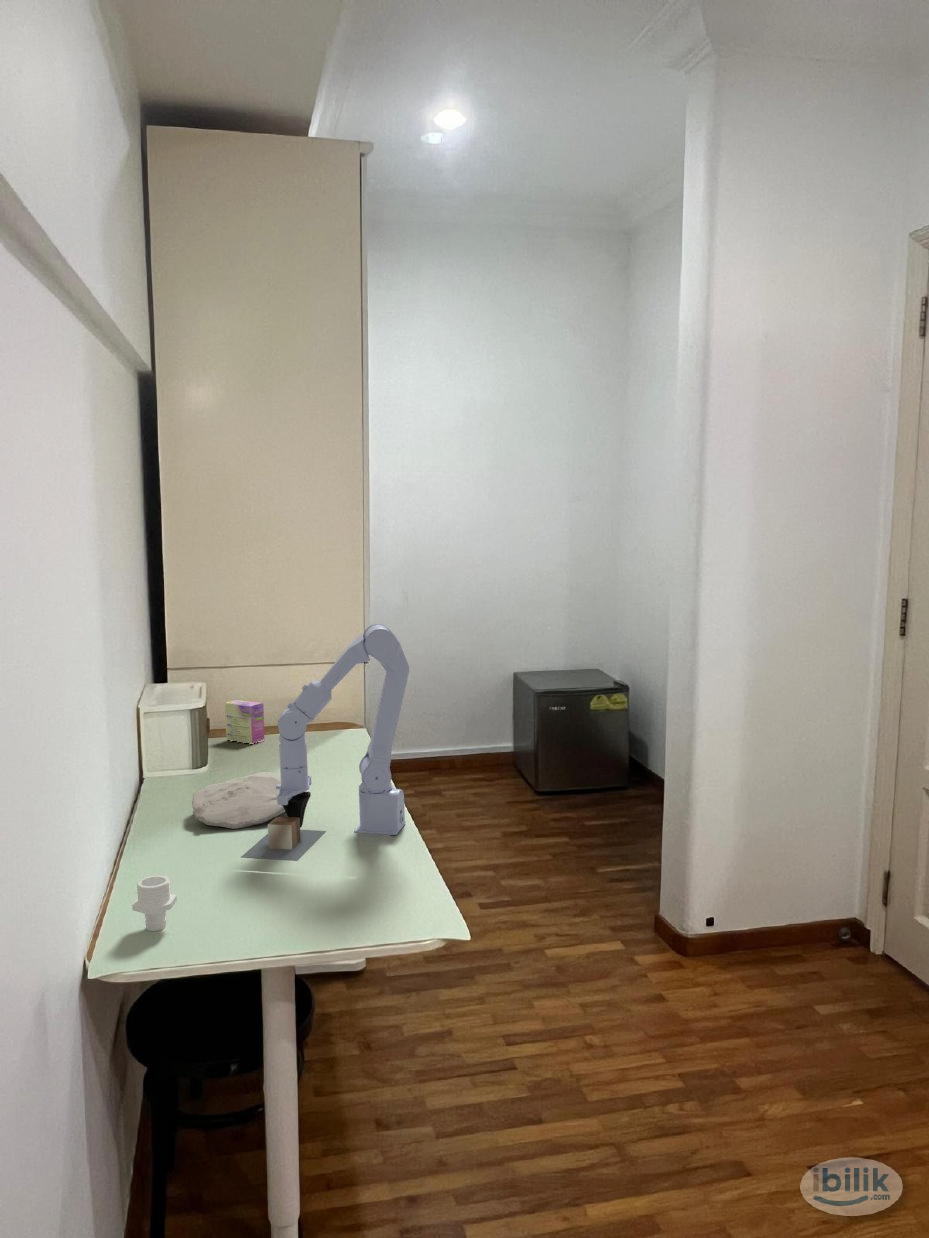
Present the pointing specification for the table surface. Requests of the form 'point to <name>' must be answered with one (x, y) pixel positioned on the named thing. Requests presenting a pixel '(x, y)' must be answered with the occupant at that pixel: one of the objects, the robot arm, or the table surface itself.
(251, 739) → the box
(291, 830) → the cube
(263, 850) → the mat
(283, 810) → the rock
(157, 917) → the pipe fitting
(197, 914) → the table surface
